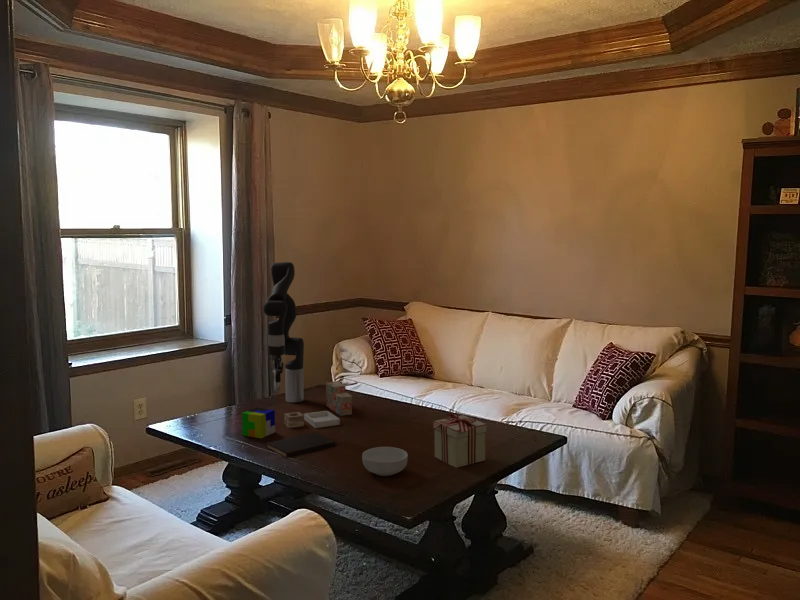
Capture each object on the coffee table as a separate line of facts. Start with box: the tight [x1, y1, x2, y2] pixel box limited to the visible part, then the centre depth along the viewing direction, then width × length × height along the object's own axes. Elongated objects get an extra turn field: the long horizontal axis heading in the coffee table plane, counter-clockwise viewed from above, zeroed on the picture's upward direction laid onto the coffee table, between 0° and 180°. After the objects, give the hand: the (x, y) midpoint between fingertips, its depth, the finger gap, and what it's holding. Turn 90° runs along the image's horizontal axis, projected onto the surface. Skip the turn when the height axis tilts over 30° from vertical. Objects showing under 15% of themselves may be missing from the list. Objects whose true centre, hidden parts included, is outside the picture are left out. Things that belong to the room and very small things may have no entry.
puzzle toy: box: [241, 407, 276, 439], centre depth 293 cm, size 10×10×10 cm
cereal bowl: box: [361, 446, 409, 477], centre depth 247 cm, size 17×17×7 cm
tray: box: [303, 410, 341, 429], centre depth 312 cm, size 16×12×3 cm
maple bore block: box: [283, 411, 305, 429], centre depth 307 cm, size 7×7×5 cm
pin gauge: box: [273, 369, 281, 391], centre depth 307 cm, size 3×3×12 cm
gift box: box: [433, 412, 487, 469], centre depth 260 cm, size 17×18×17 cm
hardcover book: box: [266, 432, 336, 458], centre depth 276 cm, size 16×23×2 cm
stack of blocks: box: [325, 381, 353, 417], centre depth 332 cm, size 21×6×12 cm, turn 25°
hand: (277, 381), depth 308 cm, fingers closed on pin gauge, 2 cm apart
